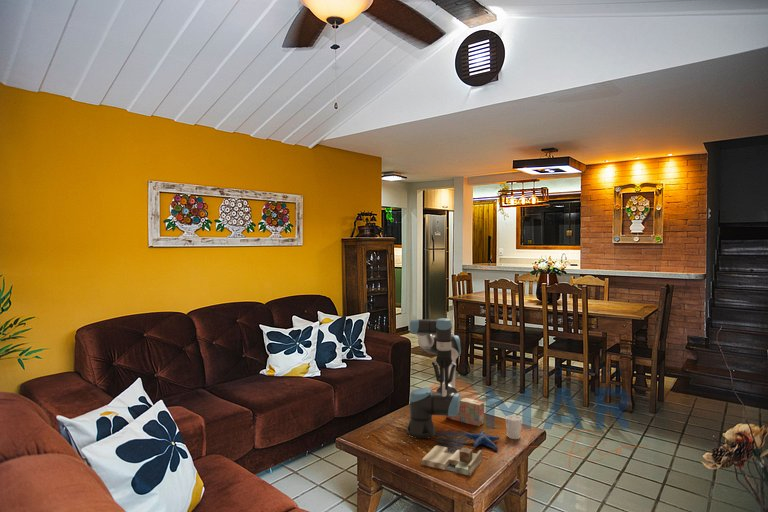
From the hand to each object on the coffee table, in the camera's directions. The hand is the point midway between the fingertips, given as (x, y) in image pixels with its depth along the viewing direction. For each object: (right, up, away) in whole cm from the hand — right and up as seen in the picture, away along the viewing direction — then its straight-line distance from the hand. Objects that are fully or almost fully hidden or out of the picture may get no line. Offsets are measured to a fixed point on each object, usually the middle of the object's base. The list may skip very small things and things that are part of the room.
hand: (444, 395), depth 233 cm
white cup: (+37, -24, +8) cm, 45 cm away
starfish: (+20, -25, -2) cm, 32 cm away
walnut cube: (+7, -22, -24) cm, 33 cm away
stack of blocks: (+16, -24, +31) cm, 42 cm away
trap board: (0, -25, -20) cm, 32 cm away
